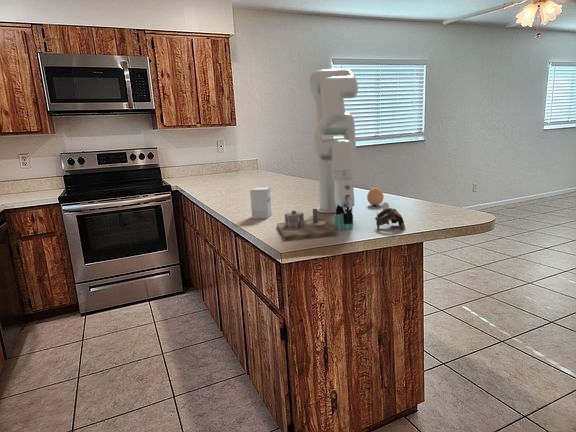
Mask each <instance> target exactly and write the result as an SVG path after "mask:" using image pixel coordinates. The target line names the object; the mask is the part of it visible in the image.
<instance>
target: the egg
mask: <svg viewBox="0 0 576 432" xmlns="http://www.w3.org/2000/svg"><path fill="white" fill-rule="evenodd" d="M366 198H367V202H368V203H369V204H370V205H371V206H374V205H377V206H379V205H382V204H383V201H384V193H383V191H382V190H381V189H380V188H379V187H376V186H375V187H371V189H370V190H369V191H368V193H367V197H366Z"/></svg>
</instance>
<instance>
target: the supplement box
mask: <svg viewBox="0 0 576 432" xmlns="http://www.w3.org/2000/svg"><path fill="white" fill-rule="evenodd" d="M249 193H250V194H249V195H250V209H251V218H252V219H269V218H270V216H272V214H273V213H272V198H271V187H270V186H267V187H265V186H264V187H263V186H261V187H253V188H252V189H250V191H249Z"/></svg>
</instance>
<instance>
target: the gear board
mask: <svg viewBox="0 0 576 432" xmlns="http://www.w3.org/2000/svg"><path fill="white" fill-rule="evenodd" d="M276 227H277V229H278V231H279V233H280V234H281V236H282V238H283V240H284V241H285V242H287V241H294V240H304V239H313V238H324V237H335V236H337V235H336V234H337V232H336V230H335V229H334V228H333V227H331V226H330V224H328V223H327V222H326V221H325V220H324V219H322V218H319V219H318V212H317V208H312V219H308V220H305V219H304V212H301V211H297V210H292V211H290V212H286V213H285V214H284V222H277V223H276Z"/></svg>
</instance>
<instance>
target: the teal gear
mask: <svg viewBox="0 0 576 432" xmlns="http://www.w3.org/2000/svg"><path fill="white" fill-rule="evenodd" d="M352 217H353V218H354V214H352ZM333 219H334V228H335V229H337V230H350V229H353V228H354V222H353V223H352V224H344V219H343V214H338V215H337V214H336V213H335V214H334V218H333Z"/></svg>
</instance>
